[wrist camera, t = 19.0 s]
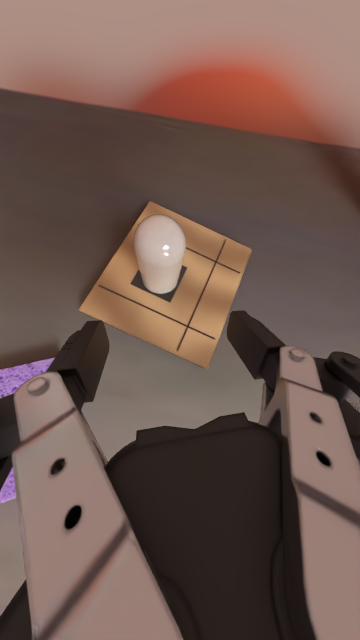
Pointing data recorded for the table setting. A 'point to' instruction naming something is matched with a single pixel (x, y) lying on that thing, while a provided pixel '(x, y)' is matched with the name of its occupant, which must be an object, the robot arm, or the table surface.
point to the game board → (173, 292)
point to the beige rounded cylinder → (159, 252)
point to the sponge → (7, 384)
